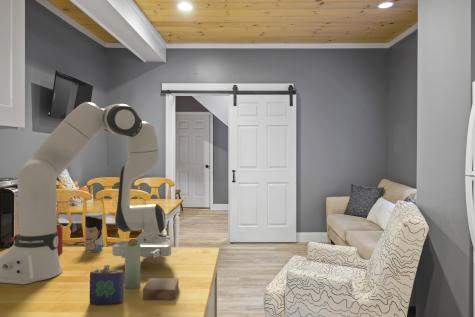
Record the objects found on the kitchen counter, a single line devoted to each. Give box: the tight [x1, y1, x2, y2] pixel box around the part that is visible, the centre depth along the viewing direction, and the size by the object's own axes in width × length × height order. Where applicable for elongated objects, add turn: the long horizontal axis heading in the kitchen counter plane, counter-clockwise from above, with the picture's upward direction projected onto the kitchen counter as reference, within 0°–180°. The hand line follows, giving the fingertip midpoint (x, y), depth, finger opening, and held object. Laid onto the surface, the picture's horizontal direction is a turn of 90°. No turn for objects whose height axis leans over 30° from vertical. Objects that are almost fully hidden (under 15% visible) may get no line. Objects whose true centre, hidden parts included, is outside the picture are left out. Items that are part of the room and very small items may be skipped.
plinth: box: [142, 277, 180, 301], centre depth 111 cm, size 9×9×3 cm
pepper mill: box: [124, 237, 141, 290], centre depth 116 cm, size 5×5×15 cm
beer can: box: [56, 222, 63, 255], centre depth 149 cm, size 7×7×12 cm
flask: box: [89, 264, 125, 306], centre depth 103 cm, size 9×3×11 cm, turn 95°
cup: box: [84, 212, 104, 252], centre depth 155 cm, size 7×7×15 cm
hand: (137, 255), depth 123 cm, fingers open, 8 cm apart
